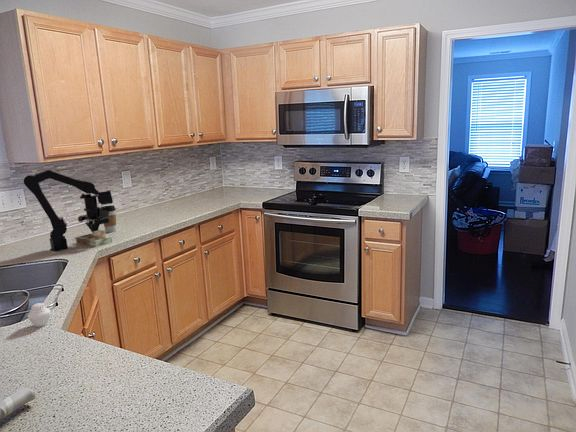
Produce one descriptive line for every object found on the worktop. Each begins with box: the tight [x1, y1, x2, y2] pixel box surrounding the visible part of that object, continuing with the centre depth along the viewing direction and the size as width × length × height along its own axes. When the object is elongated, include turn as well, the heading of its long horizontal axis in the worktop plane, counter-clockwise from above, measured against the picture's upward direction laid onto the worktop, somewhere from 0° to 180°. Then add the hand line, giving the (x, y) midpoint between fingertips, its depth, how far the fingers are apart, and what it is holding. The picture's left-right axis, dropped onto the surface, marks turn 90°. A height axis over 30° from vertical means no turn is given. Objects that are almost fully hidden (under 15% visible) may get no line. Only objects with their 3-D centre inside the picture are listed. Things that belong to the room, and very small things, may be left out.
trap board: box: [75, 233, 113, 248], centre depth 228 cm, size 9×18×3 cm, turn 56°
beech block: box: [92, 229, 107, 240], centre depth 224 cm, size 4×4×4 cm
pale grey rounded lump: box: [27, 302, 51, 328], centre depth 132 cm, size 6×6×7 cm
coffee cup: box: [100, 204, 117, 234], centre depth 250 cm, size 8×8×15 cm
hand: (95, 235), depth 226 cm, fingers closed
